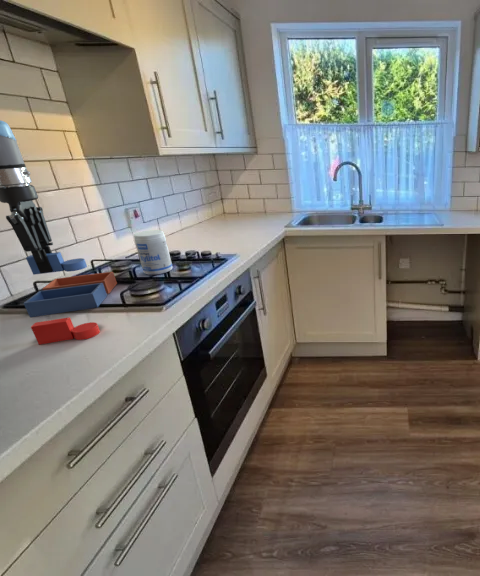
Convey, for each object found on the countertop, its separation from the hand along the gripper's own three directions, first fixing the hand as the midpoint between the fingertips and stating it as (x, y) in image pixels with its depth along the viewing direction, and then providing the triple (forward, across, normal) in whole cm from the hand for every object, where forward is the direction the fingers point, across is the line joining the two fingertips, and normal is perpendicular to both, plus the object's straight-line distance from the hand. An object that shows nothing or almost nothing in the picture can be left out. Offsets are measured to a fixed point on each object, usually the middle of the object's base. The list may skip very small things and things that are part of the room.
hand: (49, 270), depth 103 cm
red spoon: (+12, -22, -9) cm, 27 cm away
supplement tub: (+12, +25, -20) cm, 34 cm away
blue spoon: (0, 0, -3) cm, 3 cm away
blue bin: (+12, +1, -1) cm, 12 cm away
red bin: (+12, +12, -1) cm, 17 cm away
